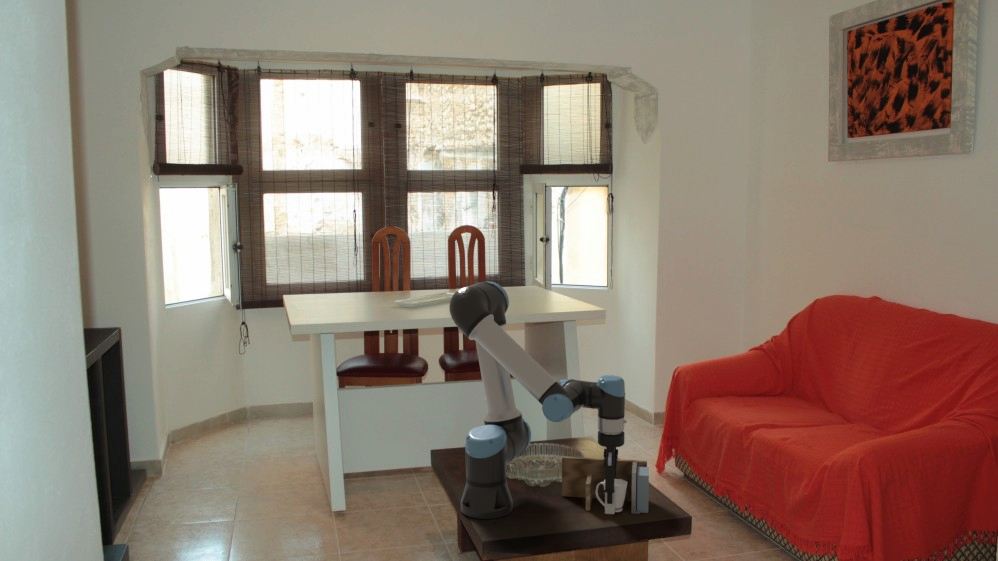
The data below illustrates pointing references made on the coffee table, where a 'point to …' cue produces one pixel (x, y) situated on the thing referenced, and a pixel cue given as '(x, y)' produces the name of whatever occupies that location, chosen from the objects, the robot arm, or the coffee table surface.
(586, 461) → the shelf wall
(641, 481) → the shelved book
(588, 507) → the divider
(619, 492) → the cup
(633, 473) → the bookend
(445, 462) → the coffee table surface
